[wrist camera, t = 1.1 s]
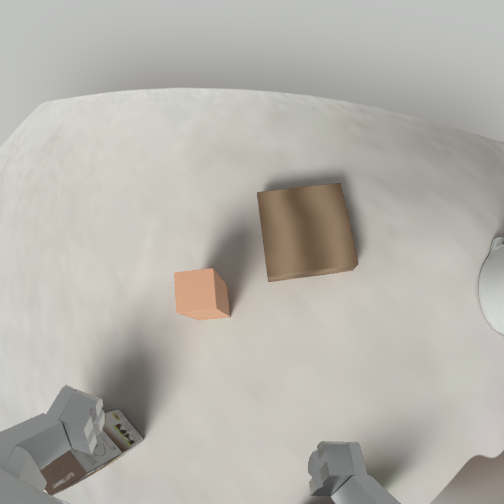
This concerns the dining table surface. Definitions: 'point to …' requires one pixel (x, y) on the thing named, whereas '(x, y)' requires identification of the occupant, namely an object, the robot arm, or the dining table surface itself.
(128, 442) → the coffee box
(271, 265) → the base block
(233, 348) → the dining table surface
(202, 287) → the pillar block
